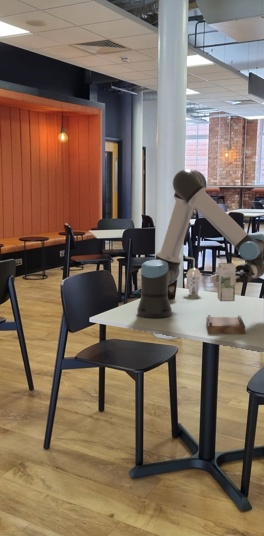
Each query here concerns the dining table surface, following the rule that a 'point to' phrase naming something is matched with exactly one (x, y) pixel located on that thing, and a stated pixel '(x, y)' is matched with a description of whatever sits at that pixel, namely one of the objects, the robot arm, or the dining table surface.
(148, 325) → the dining table surface
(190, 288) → the cup with straw
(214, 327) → the walnut serving tray
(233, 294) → the syrup box
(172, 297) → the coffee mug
